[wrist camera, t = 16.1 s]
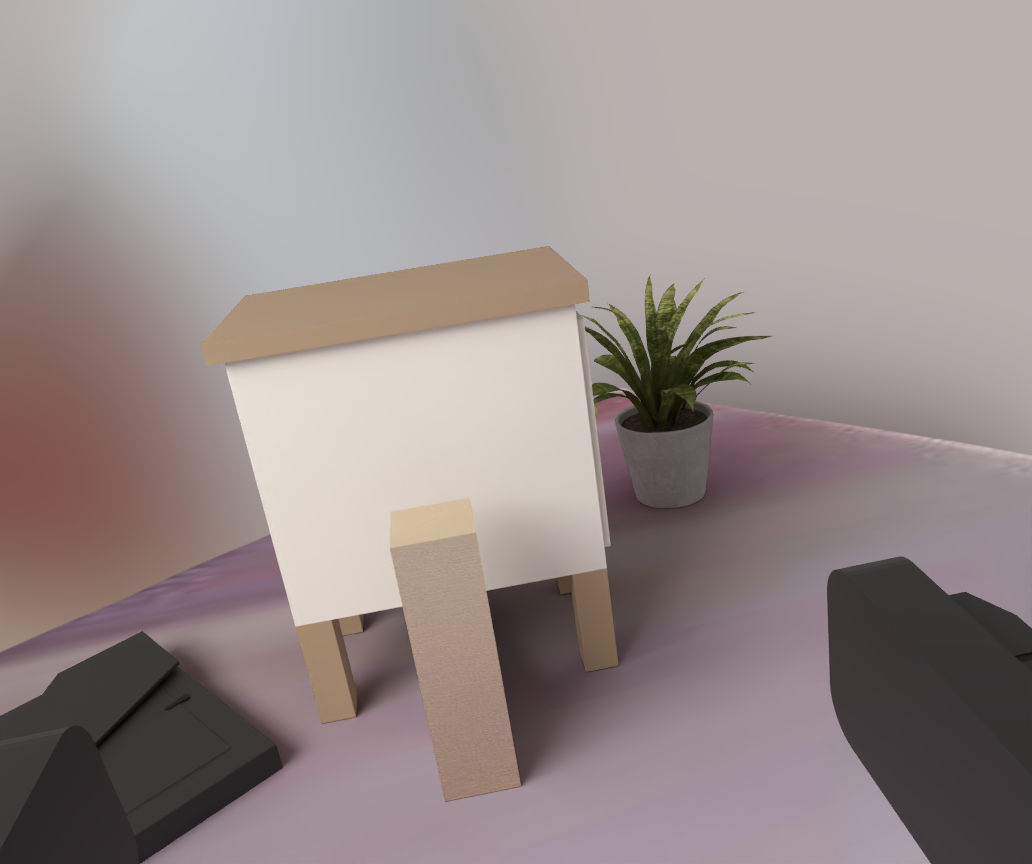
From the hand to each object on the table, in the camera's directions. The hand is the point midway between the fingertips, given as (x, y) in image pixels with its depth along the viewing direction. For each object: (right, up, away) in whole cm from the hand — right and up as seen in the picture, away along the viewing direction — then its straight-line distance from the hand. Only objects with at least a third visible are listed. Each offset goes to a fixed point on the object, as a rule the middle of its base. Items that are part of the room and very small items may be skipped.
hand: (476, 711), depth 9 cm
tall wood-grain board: (-2, -10, +39) cm, 41 cm away
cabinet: (-2, -9, +42) cm, 43 cm away
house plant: (+11, -2, +55) cm, 57 cm away
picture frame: (-24, -17, +33) cm, 44 cm away
